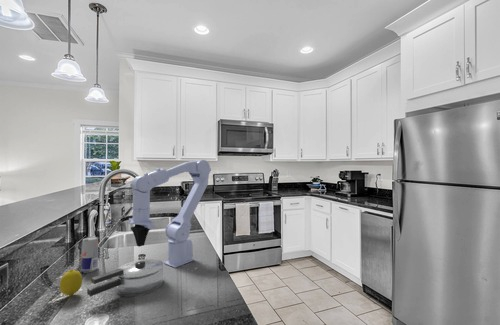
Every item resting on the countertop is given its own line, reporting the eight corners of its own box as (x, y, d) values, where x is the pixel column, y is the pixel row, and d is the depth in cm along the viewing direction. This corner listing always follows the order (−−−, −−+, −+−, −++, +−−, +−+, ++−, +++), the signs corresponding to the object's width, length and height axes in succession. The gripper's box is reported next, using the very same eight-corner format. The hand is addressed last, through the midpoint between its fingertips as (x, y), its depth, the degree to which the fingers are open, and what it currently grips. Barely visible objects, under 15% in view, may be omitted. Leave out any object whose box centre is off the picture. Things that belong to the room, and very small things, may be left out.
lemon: (86, 291, 76) (86, 265, 76) (74, 300, 71) (74, 273, 71) (68, 291, 76) (68, 266, 76) (54, 301, 70) (54, 273, 71)
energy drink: (79, 270, 92) (79, 238, 92) (95, 265, 96) (95, 235, 96) (83, 274, 89) (83, 241, 89) (100, 269, 92) (100, 238, 93)
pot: (148, 272, 89) (148, 258, 89) (171, 282, 81) (171, 268, 81) (79, 298, 72) (79, 281, 72) (99, 315, 63) (99, 296, 63)
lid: (148, 258, 89) (148, 253, 89) (171, 267, 81) (171, 260, 81) (83, 280, 73) (83, 273, 73) (103, 293, 64) (103, 285, 64)
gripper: (120, 208, 90) (120, 244, 89) (141, 211, 81) (140, 252, 81) (139, 205, 95) (138, 240, 95) (159, 209, 87) (159, 247, 86)
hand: (140, 245), depth 88 cm, fingers closed
